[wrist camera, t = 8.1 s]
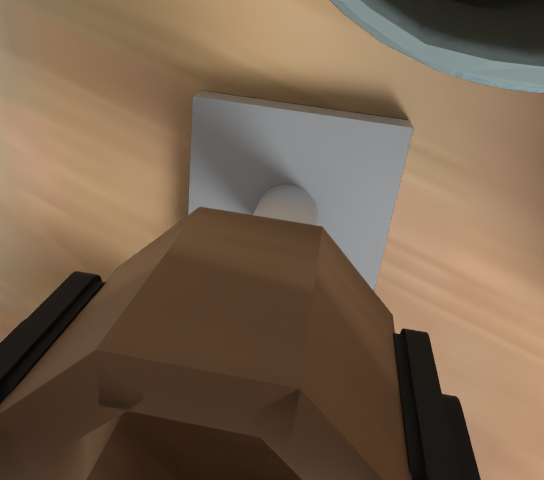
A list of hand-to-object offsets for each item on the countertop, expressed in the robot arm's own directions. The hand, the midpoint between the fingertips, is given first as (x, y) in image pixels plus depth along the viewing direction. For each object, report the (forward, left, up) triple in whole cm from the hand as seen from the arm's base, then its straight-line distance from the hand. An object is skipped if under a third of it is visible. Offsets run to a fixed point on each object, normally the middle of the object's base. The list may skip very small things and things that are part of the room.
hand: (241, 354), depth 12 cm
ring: (0, 0, -1) cm, 1 cm away
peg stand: (0, 0, -10) cm, 10 cm away
